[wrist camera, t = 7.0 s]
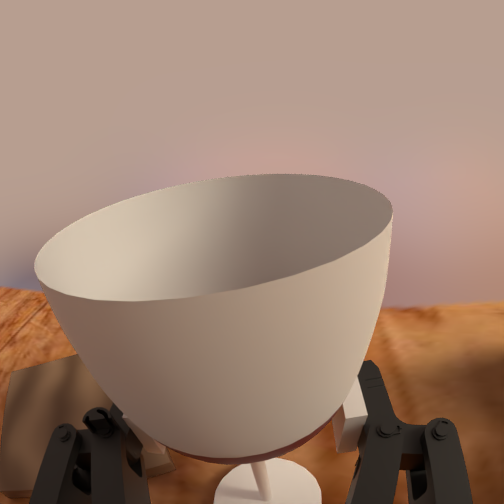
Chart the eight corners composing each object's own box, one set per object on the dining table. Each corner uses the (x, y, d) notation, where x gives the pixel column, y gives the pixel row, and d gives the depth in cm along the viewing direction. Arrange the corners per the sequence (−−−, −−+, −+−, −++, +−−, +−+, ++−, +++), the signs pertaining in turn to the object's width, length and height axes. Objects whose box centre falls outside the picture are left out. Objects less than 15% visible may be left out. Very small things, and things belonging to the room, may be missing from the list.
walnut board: (134, 347, 34) (130, 338, 33) (175, 469, 19) (170, 462, 18) (17, 380, 27) (11, 371, 26) (9, 498, 12) (-1, 490, 11)
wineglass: (340, 533, 12) (478, 250, 4) (206, 549, 12) (-32, 314, 3) (317, 446, 19) (327, 166, 11) (205, 460, 19) (104, 198, 11)
